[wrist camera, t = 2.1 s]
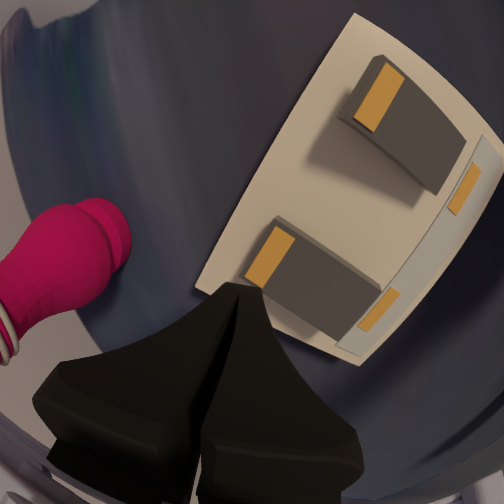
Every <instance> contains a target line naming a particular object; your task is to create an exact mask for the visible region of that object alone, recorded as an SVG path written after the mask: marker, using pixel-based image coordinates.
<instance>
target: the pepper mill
mask: <svg viewBox="0 0 504 504" xmlns="http://www.w3.org/2000/svg"><path fill="white" fill-rule="evenodd" d="M130 250H131V234H130V229H129V226H128V223H127V221H126V219H125V217H124V216H123V214H122V213H121V211H120V210H119V209H118V208H117V207H116V206H115V205H114V204H112V203H111V202H109V201H108V200H105V199H103V198H98V197H94V198H89V199H86V200H84V201H81V202H79V203H77V204H75V205H70V204H61V205H57V206H54V207H52V208H50V209H48V210H46V211H45V212H43V213H42V214H40V215H39V216H38V217H37V218H36V219H35V220H34V221H33V222H32V223H31V224H30V225H29V226H28V228H27V229H26V231H25V232H24V234H23V235H22V236H21V238H20V239H19V241H18V242H17V244H16V245H15V247H14V248H13V249H12V250H11V252H10V253H9V254H8V255H7V256H6V257H5V258H4V260H2V261H1V262H0V365H2V366H6V365H8V364H9V361H10V358H11V357H12V356H15V355H17V354H18V352H19V340H20V339H21V338H22V337H23V335H24V334H25V333H26V332H27V331H28V330H29V329H30V328H31V327H33V326H34V325H35V324H37V323H38V322H39V321H41V320H43V319H45V318H47V317H49V316H52V315H55V314H58V313H62V312H66V311H70V310H74V309H78V308H80V307H82V306H84V305H86V304H88V303H90V302H91V301H92V300H94V299H95V298H96V297H97V296H99V295H100V294H101V293H102V292H103V291H104V290H105V288H106V287H107V285H108V282H109V280H110V276H111V274H112V273H114V272H115V271H116V270H117V269H118V268H119V267H120V266H121V265H123V264H124V263H125V261H126V260H127V258H128V256H129V254H130Z"/></svg>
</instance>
